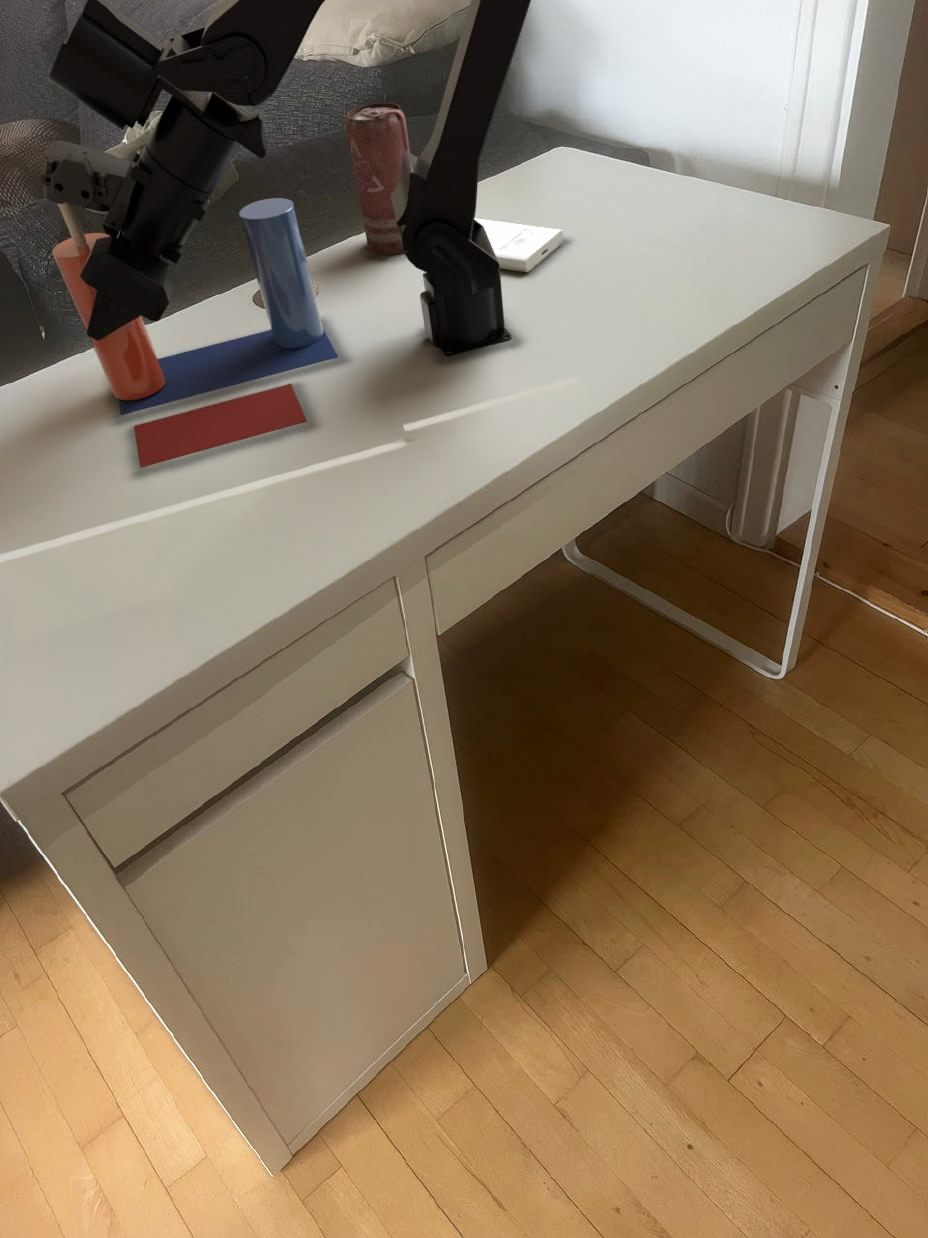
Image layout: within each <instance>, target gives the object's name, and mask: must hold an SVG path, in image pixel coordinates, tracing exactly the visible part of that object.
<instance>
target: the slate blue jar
mask: <svg viewBox="0 0 928 1238" xmlns="http://www.w3.org/2000/svg"><path fill="white" fill-rule="evenodd" d="M238 213H239V215H238V216H239V218H240V219H239V220H240V222H241V226H242V229H243V233H244V237H245V241H246V244H247V247H248V251H249V256H250V258H251V262H252V266H253V270H254V273H255V277H256V280H257V284H258V288H259V291H260V294H261V295H260V296H261V298H262V302H263V306H264V309H265V313H266V316H267V317H266V318H267V320H268V323H269V324H268V325H269V327H270V330H271V331H272V335H273V338H274V342H275V344H276V345H278V346H280V347H282V348H300V347H305V346H308V345H310V344H313V343H315V342H316V341H318V340H319V339H320V338H321V337H322V335H323V329H324V327H323V323H322V319H321V314H320V311H319V305H318V302H317V297H316V293H315V289H314V284H313V280H312V276H311V271H310V267H309V264H308V258H307V255H306V251H305V250H306V249H305V246H304V241H303V237H302V233H301V229H300V225H299V221H298V216H297V212H296V207H295V203H294V202H293V200H290V199H288V198H284V197H273V198H265V199H260V200H257V201H254V202H251V203H250V204H247V205H245V206H244V207H242V208H241V209H240V211H239V212H238Z"/></svg>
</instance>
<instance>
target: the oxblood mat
mask: <svg viewBox="0 0 928 1238" xmlns="http://www.w3.org/2000/svg"><path fill="white" fill-rule="evenodd" d="M307 422H308V421H307V418H306V415H305V413H304V411H303V408H302V406H301V403H300V401H299V399H298V397H297V395H296V392H295V389H294V387H293V385H292V383H287V384H284V385H281V386H276V387H273V388H269V389H266V390H262V391H258V392H254V393H251V394H247V395H244V396H240V397H236V398H231V399H229V400H225V401H224V400H223V401H221V402H217V403H214V404H210V405H206V406H202V407H199V408H195V409H192V410H187V411H184V412H181V413H177V414H173V415H169V416H166V417H162V418H158V419H154V420H150V421H147V422H143V423H139V424H135V425H134V427H133V428H134V434H135V440H136V448H137V453H138V460H139V467H140V468H145V467H148V466H152V465H156V464H159V463H163V462H167V461H171V460H175V459H177V458H180V457H185V456H189V455H191V454H196V453H199V452H202V451H206V450H209V449H214V448H217V447H221V446H224V445H228V444H231V443H235V442H238V441H239V442H240V441H242V440H246V439H249V438H252V437H257V436H261V435H263V434H267V433H270V432H275V431H278V430H282V429H286V428H288V427H292V426H297V425H300V424H303V423H307Z"/></svg>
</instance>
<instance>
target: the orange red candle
mask: <svg viewBox="0 0 928 1238" xmlns="http://www.w3.org/2000/svg"><path fill="white" fill-rule="evenodd" d="M57 205H58V207H59V210H60V212H61V215H62V217H63V219H64V221H65V225H66V226H67V227H66V228H67V229H68V232H69V234H70V236H71V238H68V239H65V240H63V241H62V242H60V243H58V244H57V245H56V246H54V247H53V248H52V251H51V252H52V256H53V258H54V261H55V263H56V265H57V268H58V270H59V272H60V275H61V276H62V277H61V278H62V279H63V281H64V284H65V286H66V288H67V290H68V292H69V295H70V297H71V300H72V302H73V304H74V306H75V309H76V311H77V313H78V315H79V318H80V320H81V323H82V325H83V327H84V329H85V332H86V333H87V328H88V324H89V320H90V316H91V312H92V308H93V304H94V300H95V296H96V292H97V290H96V289H95V288H93V287H91V286H89V285H88V284H86V283H85V282H84V281H83V280H82V278H81V277H80V274H81V272H82V269H83V267H84V264H85V262H86V260H87V258H88V256H89V254H90V252H91V249H92V248H93V246H94V244H95V242H96V240H97V239H98V238H104V237H110V236H109V235H108V234H105V232H90V233H84V230H83V228H82V227H83V226H82V225H81V222H80V220H79V217H78V215H77V212H76V210H75V207H74V205H72V204H68V203H63V204H58V203H57ZM150 337H151V336H150V335H149V333H148V329H147V327H146V325H145V322H144V320H143V316H140V317H138V318H136V319H134V320H133V321H131V322H129V323H128V324H126V325H124V326H122V327H121V328H119V329H117V330H116V331H114V332H112V333H111V334H109V335H108V336H106V337H104V338H103V339H101V340H99V341H97V340H95V339H93V338H91V337H89V336H88V339H89V341H90V343H91V346H92V347H93V350H94V352H95V355H96V357H97V359H98V362H99V364H100V366H101V368H102V371H103V373H104V376H105V378H106V380H107V382H108V384H109V385H108V386H109V387H110V390H111V391H112V394H113V396H114V398H116V399H118V400H119V399H121V400H137V399H141V398H145V397H148V396H150V395H152V394H154V393H156V392H157V391H159V390H160V389H161V388H162V387H163V386H164V385H165V382H166V379H165V376H164V374H163V371H162V368H161V366H160V363H159V361H158V359H159V358H158V356H157V353H156V350H155V348H154V346H153V343H152V340H151V338H150Z"/></svg>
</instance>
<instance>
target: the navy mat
mask: <svg viewBox="0 0 928 1238" xmlns="http://www.w3.org/2000/svg"><path fill="white" fill-rule="evenodd" d="M338 358H339V355H338V353H337V351H336V349H335V348H334V347H333V344H332V343H331V341H330V339H329V337H328V335H327V333H326V331H325V330H324V328H323V335H322V337H321V338H320V339H319V340H318V341H316V342H315V343H313V344H310V345H308V346H305V347H300V348H282V347H280V346H278V345H276V344H275V342H274V338H273V335H272V331H271V329H269V330H265V331H261V332H257V333H254V334H249V335H245V336H242V337H237V338H234V339H230V340H226V341H223V342H218V343H215V344H211V345H207V346H203V347H200V348H195V349H191V350H188V351H184V352H180V353H176V354H172V355H168V356H165V357H160V358H158V361H159V363H160V366H161V368H162V371H163V374H164V376H165V379H166V382H165V385H164V386H163V387H162V388H161V389H160V390H159V391H157V392H156V393H154V394H152V395H150V396H148V397H145V398H141V399H137V400H121V399H118V403H119V404H118V405H119V411H120V416H124V415H127V414H132V413H135V412H139V411H143V410H146V409H150V408H154V407H159V406H161V405H165V404H169V403H173V402H176V401H180V400H184V399H187V398H192V397H195V396H199V395H203V394H206V393H210V392H213V391H217V390H221V389H225V388H229V387H232V386H236V385H240V384H243V383H248V382H251V381H255V380H258V379H263V378H266V377H270V376H273V375H278V374H281V373H285V372H289V371H293V370H297V369H299V368H300V369H301V368H304V367H307V366H312V365H313V364H318V363H323V362H326V361H329V360H333V359H338Z"/></svg>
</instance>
